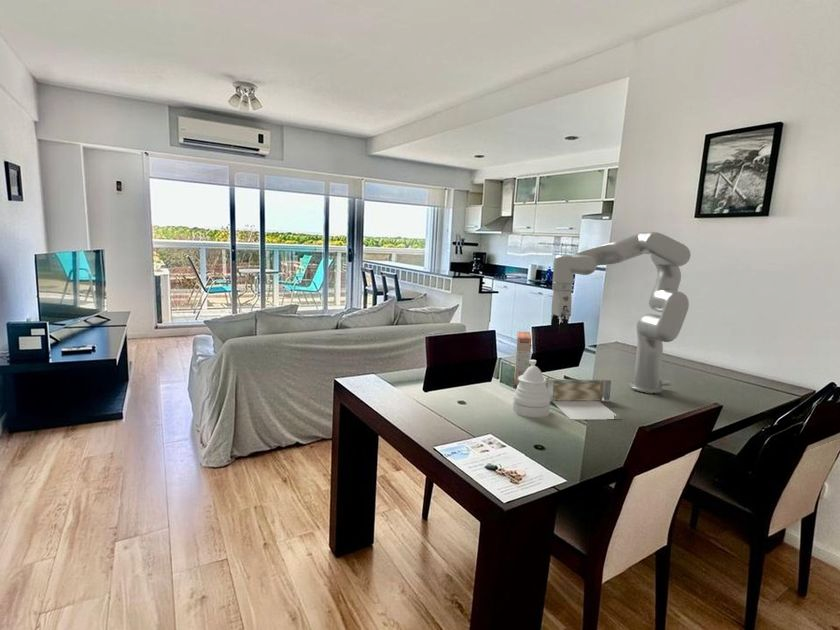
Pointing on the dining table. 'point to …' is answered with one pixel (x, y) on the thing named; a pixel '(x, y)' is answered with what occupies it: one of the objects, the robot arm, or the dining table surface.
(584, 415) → the mat
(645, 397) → the dining table surface
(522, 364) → the cracker box
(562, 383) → the gate
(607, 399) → the gate frame
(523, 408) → the honey pot
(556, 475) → the dining table surface
